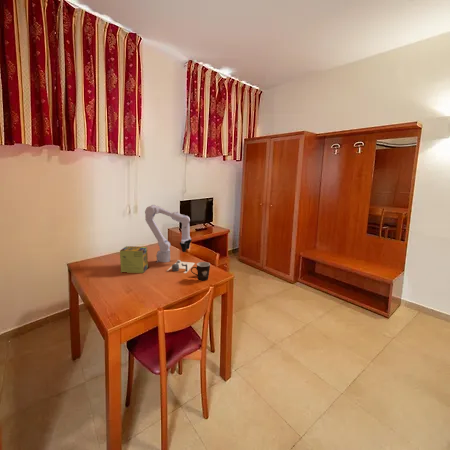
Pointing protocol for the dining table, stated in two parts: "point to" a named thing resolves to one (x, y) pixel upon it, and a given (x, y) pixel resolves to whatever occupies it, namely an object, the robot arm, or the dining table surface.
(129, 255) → the protein box
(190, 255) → the dining table surface
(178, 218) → the robot arm
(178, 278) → the dining table surface
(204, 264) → the coffee mug
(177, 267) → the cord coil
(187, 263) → the shelf board
